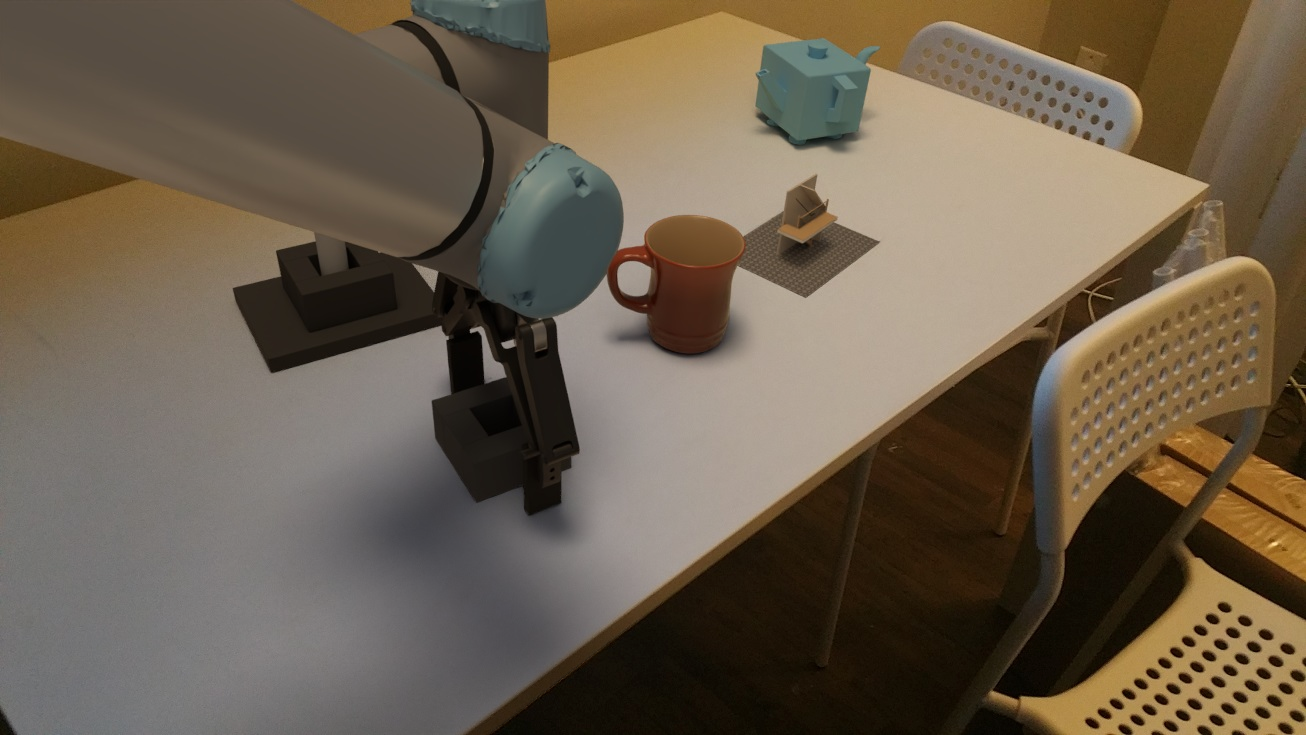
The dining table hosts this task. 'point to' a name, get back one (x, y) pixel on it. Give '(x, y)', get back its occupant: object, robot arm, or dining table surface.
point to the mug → (684, 280)
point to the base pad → (294, 345)
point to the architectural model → (803, 243)
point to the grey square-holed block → (483, 438)
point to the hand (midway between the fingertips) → (503, 450)
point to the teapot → (813, 88)
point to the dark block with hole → (336, 286)
